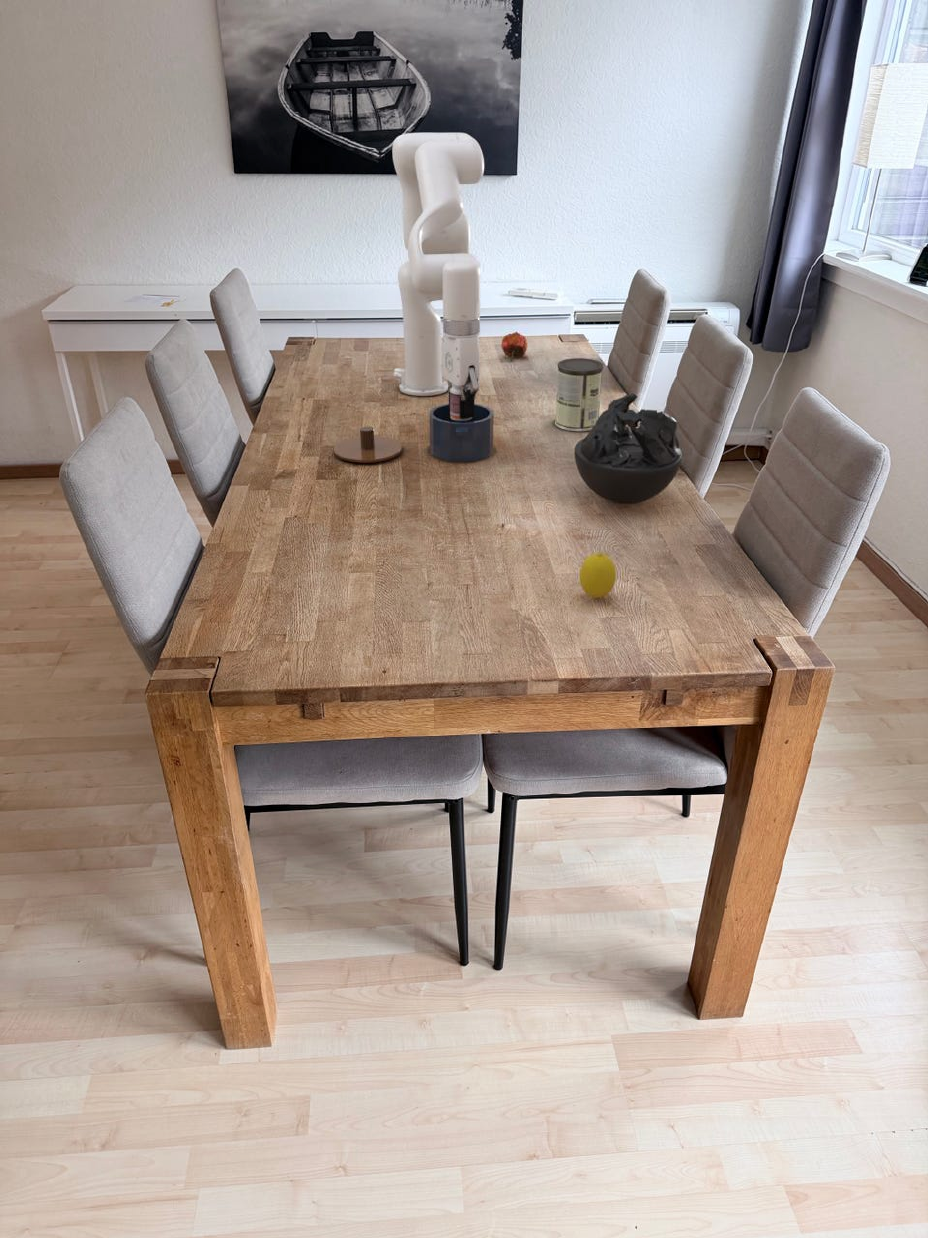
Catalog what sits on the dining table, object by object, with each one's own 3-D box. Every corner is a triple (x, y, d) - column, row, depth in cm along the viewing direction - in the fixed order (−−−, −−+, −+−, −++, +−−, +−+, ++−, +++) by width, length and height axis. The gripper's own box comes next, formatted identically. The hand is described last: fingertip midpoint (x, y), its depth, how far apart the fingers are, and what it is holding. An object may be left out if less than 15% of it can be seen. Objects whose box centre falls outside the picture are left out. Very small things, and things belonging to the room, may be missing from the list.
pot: (429, 467, 189) (428, 428, 184) (431, 435, 205) (430, 398, 200) (494, 467, 189) (495, 427, 184) (491, 435, 205) (491, 398, 200)
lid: (330, 465, 189) (328, 440, 187) (338, 440, 202) (336, 417, 199) (400, 465, 190) (399, 440, 187) (403, 440, 202) (402, 417, 199)
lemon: (575, 590, 145) (578, 545, 140) (609, 588, 145) (613, 544, 141) (581, 607, 140) (585, 562, 136) (617, 606, 140) (621, 560, 136)
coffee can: (562, 414, 217) (566, 355, 210) (604, 420, 213) (609, 360, 206) (547, 427, 209) (551, 367, 202) (590, 434, 205) (595, 372, 198)
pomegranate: (525, 368, 257) (534, 340, 261) (518, 352, 251) (527, 323, 254) (501, 368, 260) (510, 340, 264) (494, 352, 254) (503, 323, 257)
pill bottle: (470, 422, 191) (470, 383, 186) (448, 420, 191) (447, 381, 187) (474, 415, 195) (474, 376, 190) (452, 413, 195) (452, 375, 191)
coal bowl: (652, 530, 163) (664, 430, 153) (553, 506, 172) (559, 409, 162) (690, 492, 178) (704, 399, 168) (597, 471, 187) (605, 381, 177)
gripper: (428, 318, 188) (429, 404, 198) (461, 338, 175) (461, 428, 185) (461, 315, 191) (461, 399, 200) (496, 334, 178) (494, 423, 187)
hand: (461, 412), depth 192 cm, fingers closed on pill bottle, 4 cm apart
